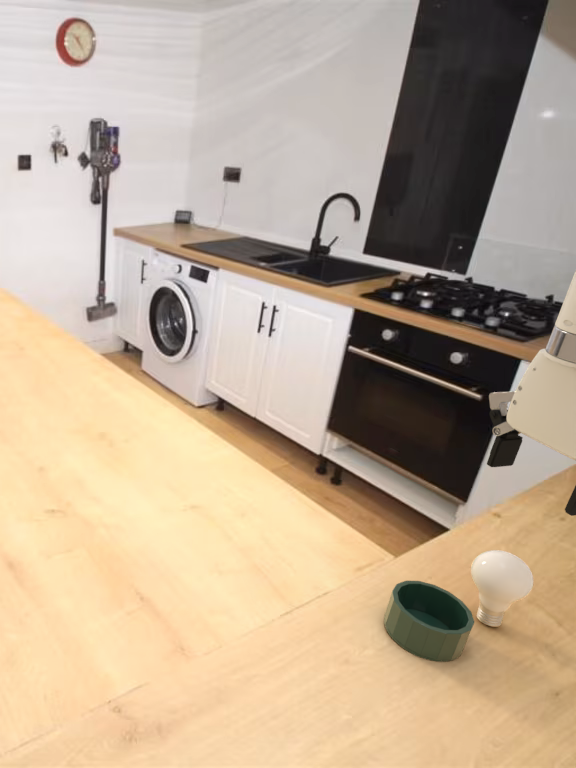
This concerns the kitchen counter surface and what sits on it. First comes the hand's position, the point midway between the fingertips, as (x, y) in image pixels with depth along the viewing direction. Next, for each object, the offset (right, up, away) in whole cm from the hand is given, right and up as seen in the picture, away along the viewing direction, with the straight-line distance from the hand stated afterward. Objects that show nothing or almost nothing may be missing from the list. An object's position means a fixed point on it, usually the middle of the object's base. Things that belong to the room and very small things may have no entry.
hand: (536, 487), depth 63 cm
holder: (-8, -21, +8) cm, 24 cm away
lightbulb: (+2, -20, +10) cm, 23 cm away
